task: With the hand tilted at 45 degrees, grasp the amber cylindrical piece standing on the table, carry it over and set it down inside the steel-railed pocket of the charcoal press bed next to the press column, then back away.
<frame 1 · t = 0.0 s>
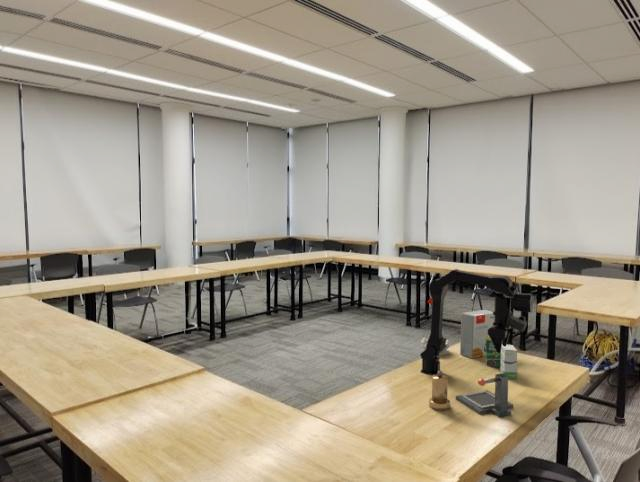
hand: (501, 349, 171), 15 cm above the table, tool pointing down, fingers open, 9 cm apart
coffee box: (495, 366, 194), on the table
ink box: (508, 375, 184), on the table
press bed: (483, 403, 157), on the table
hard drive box: (477, 354, 210), on the table
amber cylindrical piece: (439, 406, 155), on the table
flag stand: (434, 352, 214), on the table
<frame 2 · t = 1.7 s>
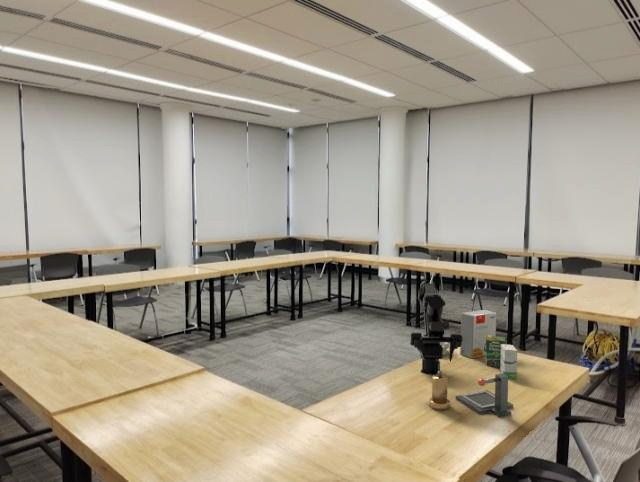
hand: (437, 360, 162), 13 cm above the table, tool tilted 45°, fingers open, 9 cm apart
nothing on the table moved.
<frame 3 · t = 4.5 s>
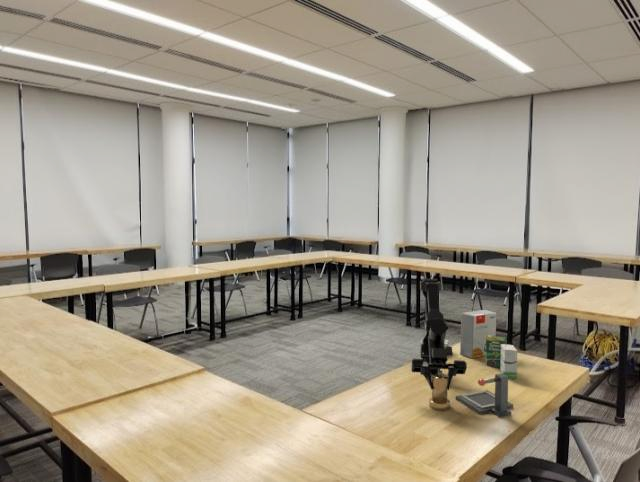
hand: (440, 389, 153), 7 cm above the table, tool tilted 45°, fingers closed on amber cylindrical piece, 5 cm apart
amber cylindrical piece: (439, 406, 155), on the table, touching gripper
everything else where it was.
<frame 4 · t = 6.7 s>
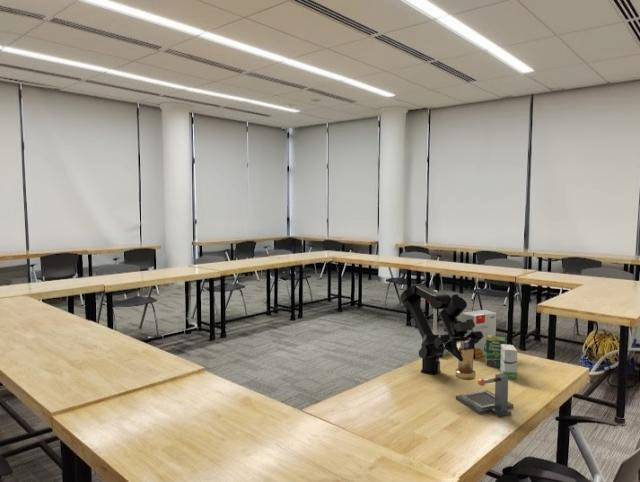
hand: (468, 360, 164), 13 cm above the table, tool tilted 45°, fingers closed on amber cylindrical piece, 5 cm apart
amber cylindrical piece: (465, 376, 165), point 6 cm above the table, touching gripper
everything else where it was.
when the fingers open (9 cm above the table, at t = 9.2 s): amber cylindrical piece drops 1 cm, resting on press bed.
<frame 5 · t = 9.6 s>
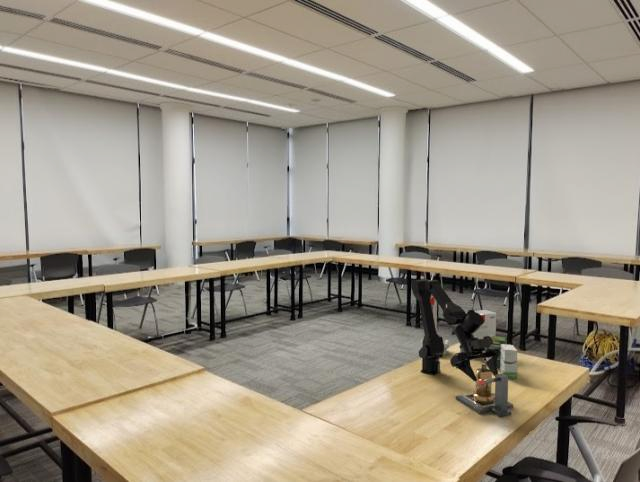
hand: (486, 379, 155), 9 cm above the table, tool tilted 45°, fingers open, 9 cm apart
amber cylindrical piece: (483, 399, 157), point 1 cm above the table, touching press bed
everything else where it was.
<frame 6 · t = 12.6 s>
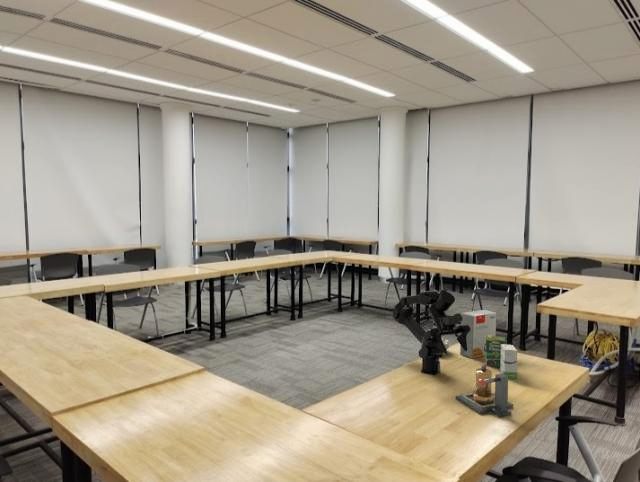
hand: (456, 352, 171), 14 cm above the table, tool tilted 45°, fingers open, 9 cm apart
nothing on the table moved.
at the end: amber cylindrical piece 0.2 cm from the press bed (horizontally); amber cylindrical piece point 1.2 cm above the table; amber cylindrical piece tilted 0° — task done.
